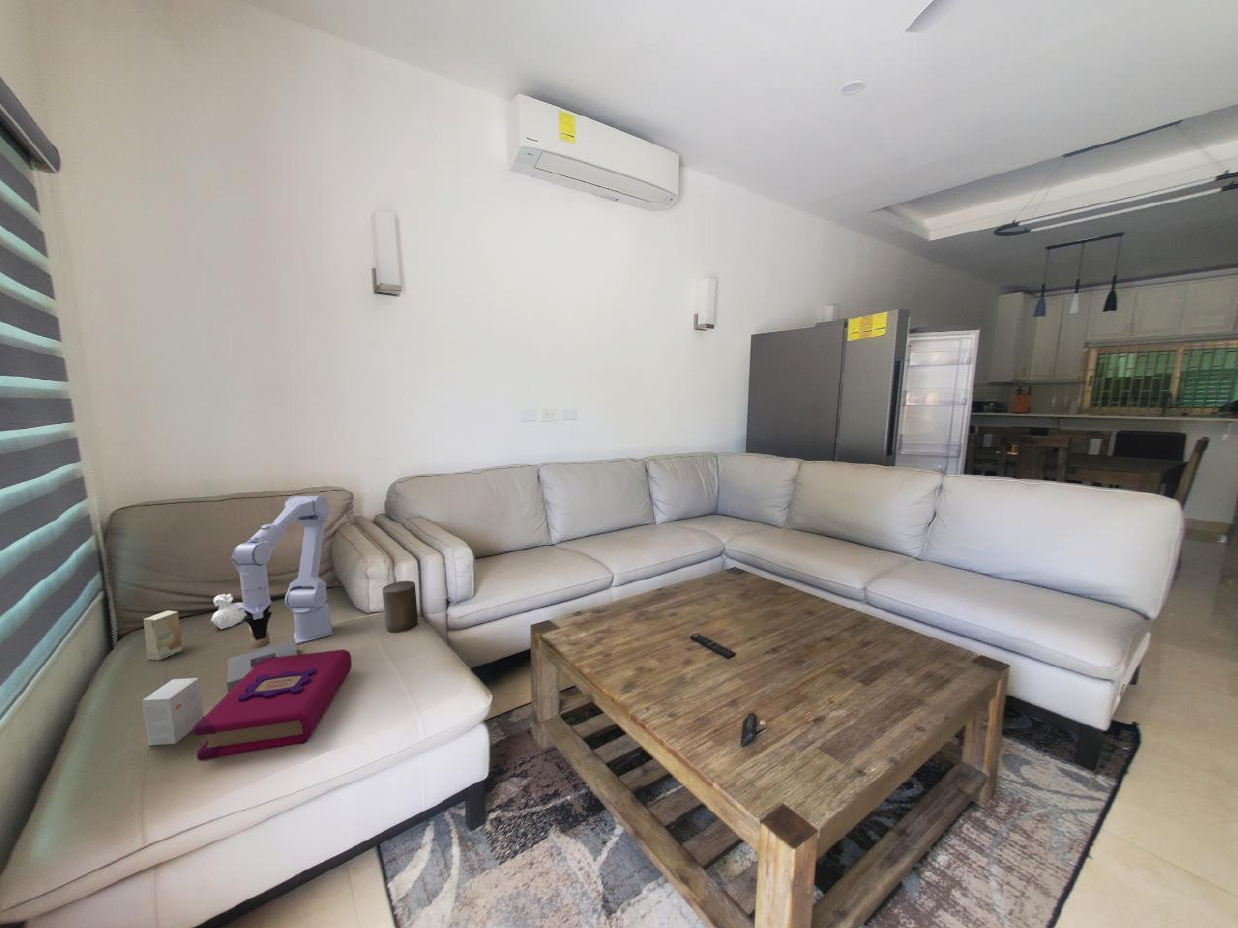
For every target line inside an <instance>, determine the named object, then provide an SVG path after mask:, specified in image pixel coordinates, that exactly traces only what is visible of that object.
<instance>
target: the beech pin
mask: <svg viewBox="0 0 1238 928" xmlns="http://www.w3.org/2000/svg"><path fill="white" fill-rule="evenodd" d="M248 630H249V639H250V647H251V649H254V650H255V649H263V648H265V647H267V646H269V644H270V643H271V640H270V639H271V638H270V631H269V624H268V625H267V634H266V638H263V639H259V640H256V639H255V637H254V634H253V632H252V629H251V627H250V625H249V624H248Z"/></svg>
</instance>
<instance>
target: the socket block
mask: <svg viewBox="0 0 1238 928" xmlns="http://www.w3.org/2000/svg"><path fill="white" fill-rule="evenodd" d="M293 655H298V651H297V647H296V642H295V640H293V641H288V642H286V643H282V644H278V645H274V646H269V647H267V648H261V649H259V650H256V651H252V652H251V651H250V652H248V653H243V654H240V655H236V656H232V657H229V658H227V674H226V675H227V677H226V679H227V680H226V684H227V694H228V693H229V692H230V691H231V690H232V689H233V688H234V687H235V686H236V685H237V684H238V683H239V682H240V681H241V680H242V679H243V678H244V677H245V676H246V675H247V673H248V672H249V671H250V670H251V669H252V668H253V667H254V666H255V665H256V664H257V663H258V662H259V661H260V660H262V659H265V658H271V657H284V656H293Z"/></svg>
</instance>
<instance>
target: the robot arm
mask: <svg viewBox="0 0 1238 928" xmlns="http://www.w3.org/2000/svg"><path fill="white" fill-rule="evenodd" d="M329 509H330V503H329V502H328V500H327V497H325V495H302V496H301V495H291V496H290V497H289V498H288V499H287V500H286V501H285V503H284V508H283V510H282V511H281V512H280V514H279V515H278V516H277V517H276V519H274V521H273V522H272V523H267V524H263V525H262V526H260V529H258V531H257V532H256V533H254V535H253V536H252V537H250V538H249V539H248V540H247V541H246V542H245V543H240V544H238V545H237V546H236V547H235V548H234V549H233V551H232V554H231V555H232V556H231V557H230V559H231V560H230V561H231V563H232V564H233V565H234V566H235V568H236V572H237V573H239V579H240V589H241V597H242V603H243V605H240V606H238V610H244V612H245V613H246V614H247V615H246V616H245V618H244V621H245V622H246V623H247V624H248V626H249V625H250V627H251V629H252V632H253V634H254V637H255V639H256V640H259V639H263V638H266V634H267V625H268V626H269V620H270V618H271V616H272V611H270V608H271V604H272V600H271V597H270V587H269V580H268V571H267V569H268V567H267V562H269V560H270V558H271V556H272V552H273V551H274V548H275V547H276V546H277V545H278V544H279V542H280V541H282V540H283V538H284V537H285V534H284V533H285V530H286V529H288V528H289V527H290V526H291V525H293V523H294V522H295V521H296V522H298V523H301V524H302V525H303V526H304V533H303V540H302V546H301V553H300V554H301V555H300V561H299V569H298V575H297V578H295V579H294V580H293V581H291V582H290V583H289V585H288V590H287V591H286V594H285V597H284V603H285V606H286V607H287V608H288V609H290V612H291V613H293V620H294V621H293V622H294V630H295V632H294V633H293V638H294V643H295V645H297V644H298V645H299V644H302V643H305V642H309V641H312V640H317V639H319V638H324V637H327V636H330V635H333V632H332V631H333V630H332V625H333V624H332V621H331V614H330V613H331V611H330V606H329V604H328V603H326V602H327V599H328V593H327V583H326V581H324V580H323V579H321V578H320V576H319V572H320V571H319V570H320V563H321V557H322V556H321V555H322V547H323V540H324V532H325V525H326V523H327V521H328V517H329Z"/></svg>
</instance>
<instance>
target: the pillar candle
mask: <svg viewBox="0 0 1238 928" xmlns="http://www.w3.org/2000/svg"><path fill="white" fill-rule="evenodd" d="M382 598H383V609H384V610H383V611H384V620H385V621H384V623H385V631H386V632H388V633H391V634H397V633H402V632H403V633H404V632H408V631H411V630H413V629H414V628H416V627H417V626H418V625H419V617H418V606H417V602H418V601H417V593H416V583H415V581H412V580H399V581H394V582H390V583H388V584H387V585H384V586H383V588H382Z"/></svg>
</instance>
